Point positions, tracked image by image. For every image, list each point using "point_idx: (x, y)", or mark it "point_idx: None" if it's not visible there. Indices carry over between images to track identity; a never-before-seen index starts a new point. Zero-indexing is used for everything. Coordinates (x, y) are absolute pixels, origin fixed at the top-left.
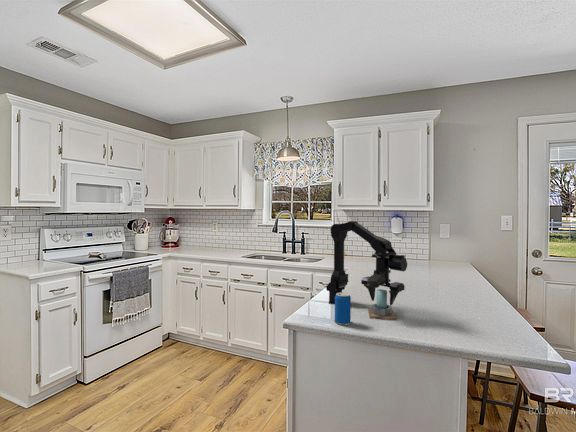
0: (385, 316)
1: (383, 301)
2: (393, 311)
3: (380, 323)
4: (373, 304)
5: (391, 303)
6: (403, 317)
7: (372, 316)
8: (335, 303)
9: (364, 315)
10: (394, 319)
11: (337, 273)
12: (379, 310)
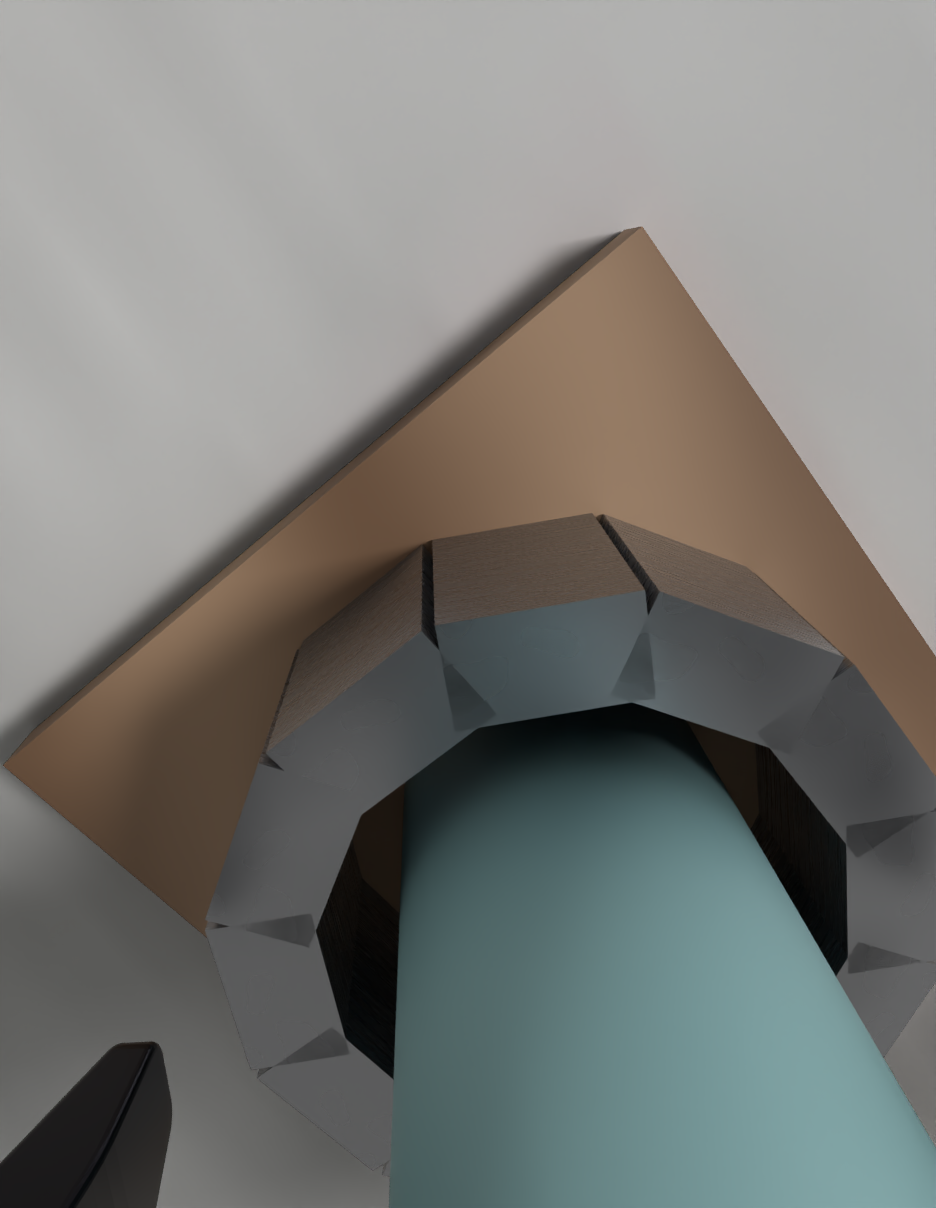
0: (277, 624)
1: (442, 1060)
2: None
3: (90, 82)
4: (931, 887)
5: (50, 1135)
6: (91, 1027)
7: (563, 290)
8: None
9: (900, 350)
10: (61, 712)
11: None
12: (450, 596)
